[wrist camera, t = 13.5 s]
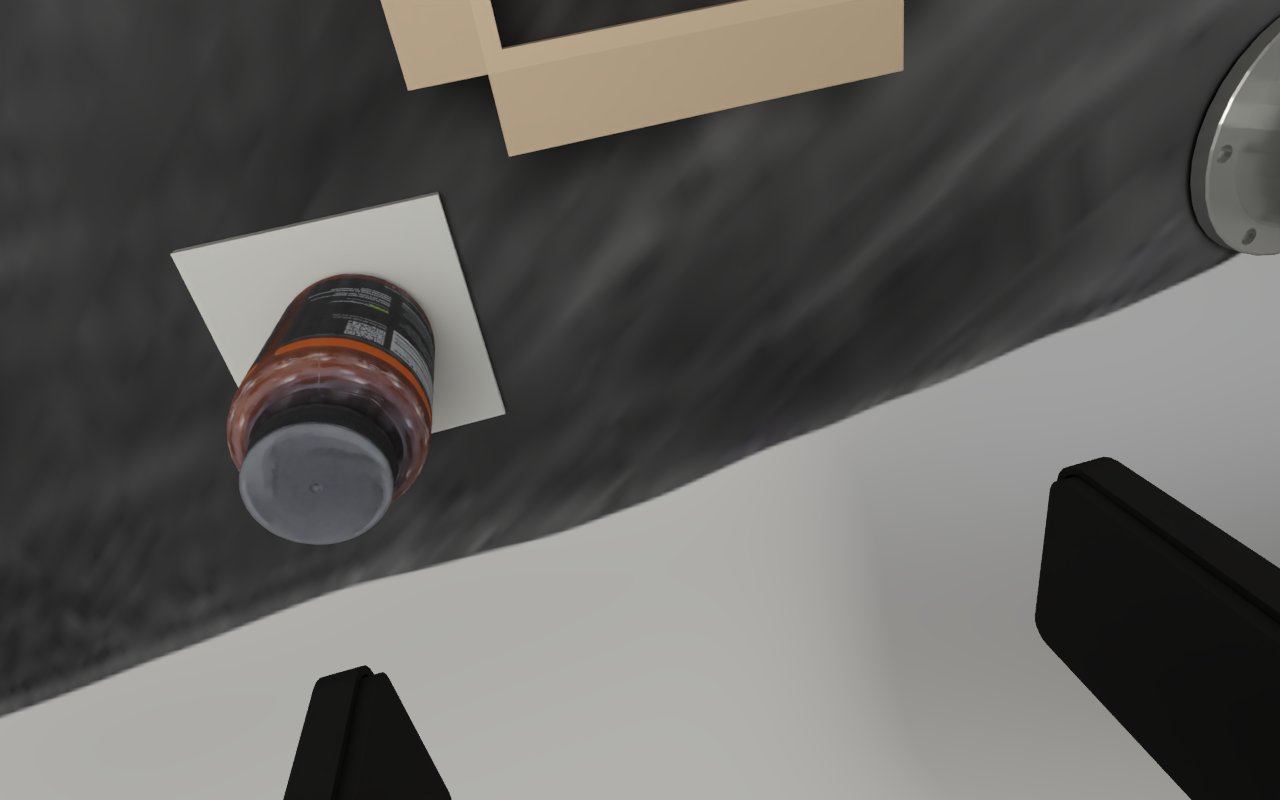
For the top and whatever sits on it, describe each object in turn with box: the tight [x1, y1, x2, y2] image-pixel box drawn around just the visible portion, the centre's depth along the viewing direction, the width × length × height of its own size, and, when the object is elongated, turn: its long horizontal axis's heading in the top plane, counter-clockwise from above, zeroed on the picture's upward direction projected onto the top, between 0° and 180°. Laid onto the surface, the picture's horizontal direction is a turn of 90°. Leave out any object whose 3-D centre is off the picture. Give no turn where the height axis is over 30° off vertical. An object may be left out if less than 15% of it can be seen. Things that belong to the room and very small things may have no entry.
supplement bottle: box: [227, 274, 435, 545], centre depth 24 cm, size 6×6×11 cm
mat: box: [170, 192, 505, 433], centre depth 29 cm, size 10×10×1 cm
